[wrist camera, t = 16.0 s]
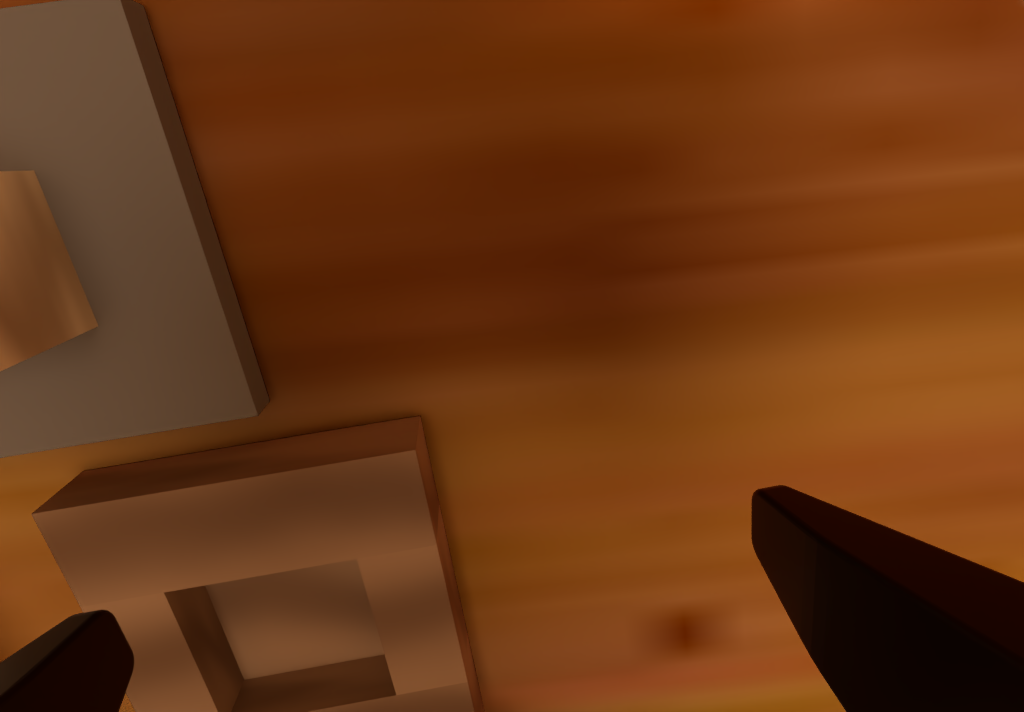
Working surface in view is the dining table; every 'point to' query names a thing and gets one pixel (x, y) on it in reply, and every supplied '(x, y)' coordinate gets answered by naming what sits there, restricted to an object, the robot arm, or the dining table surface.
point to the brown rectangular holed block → (275, 575)
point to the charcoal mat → (117, 237)
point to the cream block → (35, 275)
